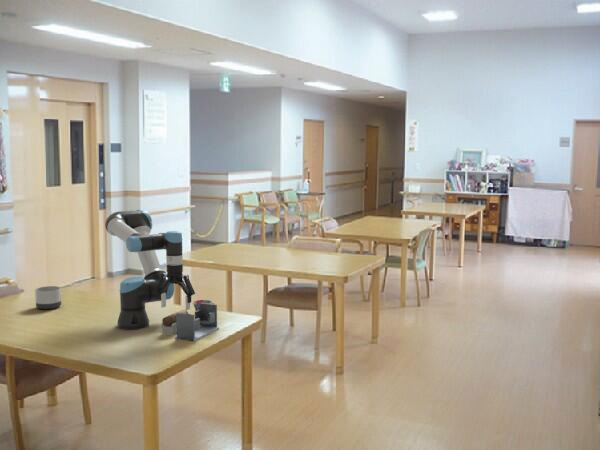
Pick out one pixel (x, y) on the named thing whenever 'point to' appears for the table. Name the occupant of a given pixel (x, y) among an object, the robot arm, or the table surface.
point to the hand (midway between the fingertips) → (175, 308)
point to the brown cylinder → (172, 318)
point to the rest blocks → (169, 329)
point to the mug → (197, 303)
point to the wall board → (202, 332)
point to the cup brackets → (196, 321)
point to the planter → (48, 297)
